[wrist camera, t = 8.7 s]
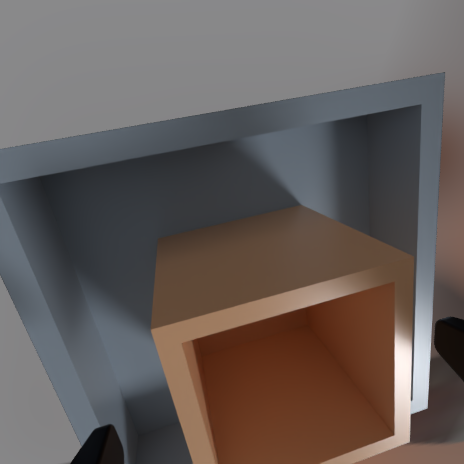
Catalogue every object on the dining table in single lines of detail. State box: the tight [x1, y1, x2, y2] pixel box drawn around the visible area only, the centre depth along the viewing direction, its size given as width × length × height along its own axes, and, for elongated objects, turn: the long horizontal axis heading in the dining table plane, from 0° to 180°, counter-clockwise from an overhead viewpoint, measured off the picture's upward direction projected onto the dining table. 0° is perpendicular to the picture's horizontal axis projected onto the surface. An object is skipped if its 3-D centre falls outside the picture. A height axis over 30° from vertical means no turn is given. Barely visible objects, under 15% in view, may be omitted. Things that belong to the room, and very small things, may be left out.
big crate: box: [0, 72, 445, 464], centre depth 12 cm, size 14×14×4 cm
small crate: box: [151, 205, 414, 464], centre depth 10 cm, size 6×6×6 cm
